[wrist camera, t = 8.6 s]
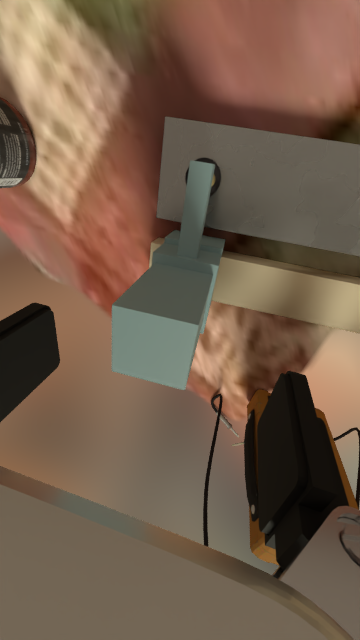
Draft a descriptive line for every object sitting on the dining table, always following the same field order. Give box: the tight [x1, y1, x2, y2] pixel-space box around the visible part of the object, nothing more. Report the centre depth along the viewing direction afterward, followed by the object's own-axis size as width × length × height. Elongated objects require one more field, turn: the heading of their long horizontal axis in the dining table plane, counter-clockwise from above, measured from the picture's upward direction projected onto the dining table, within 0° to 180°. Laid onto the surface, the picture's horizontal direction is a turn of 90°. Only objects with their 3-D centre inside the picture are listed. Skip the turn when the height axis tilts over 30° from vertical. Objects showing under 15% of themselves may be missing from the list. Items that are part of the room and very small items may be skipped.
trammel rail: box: [149, 237, 360, 333], centre depth 16 cm, size 24×9×7 cm, turn 83°
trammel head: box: [112, 160, 225, 390], centre depth 15 cm, size 4×10×12 cm, turn 173°
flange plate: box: [156, 116, 360, 256], centre depth 16 cm, size 24×6×1 cm, turn 83°
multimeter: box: [203, 389, 360, 565], centre depth 20 cm, size 15×10×20 cm
